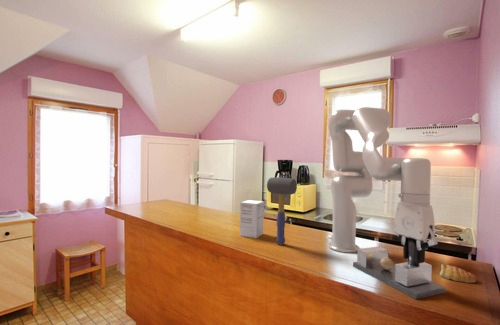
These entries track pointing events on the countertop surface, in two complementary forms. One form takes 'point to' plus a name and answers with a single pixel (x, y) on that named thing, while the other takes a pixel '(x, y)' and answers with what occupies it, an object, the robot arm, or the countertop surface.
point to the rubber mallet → (281, 201)
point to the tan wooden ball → (386, 264)
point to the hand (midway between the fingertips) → (413, 259)
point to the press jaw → (412, 268)
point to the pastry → (456, 274)
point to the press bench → (391, 273)
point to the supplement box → (251, 218)
